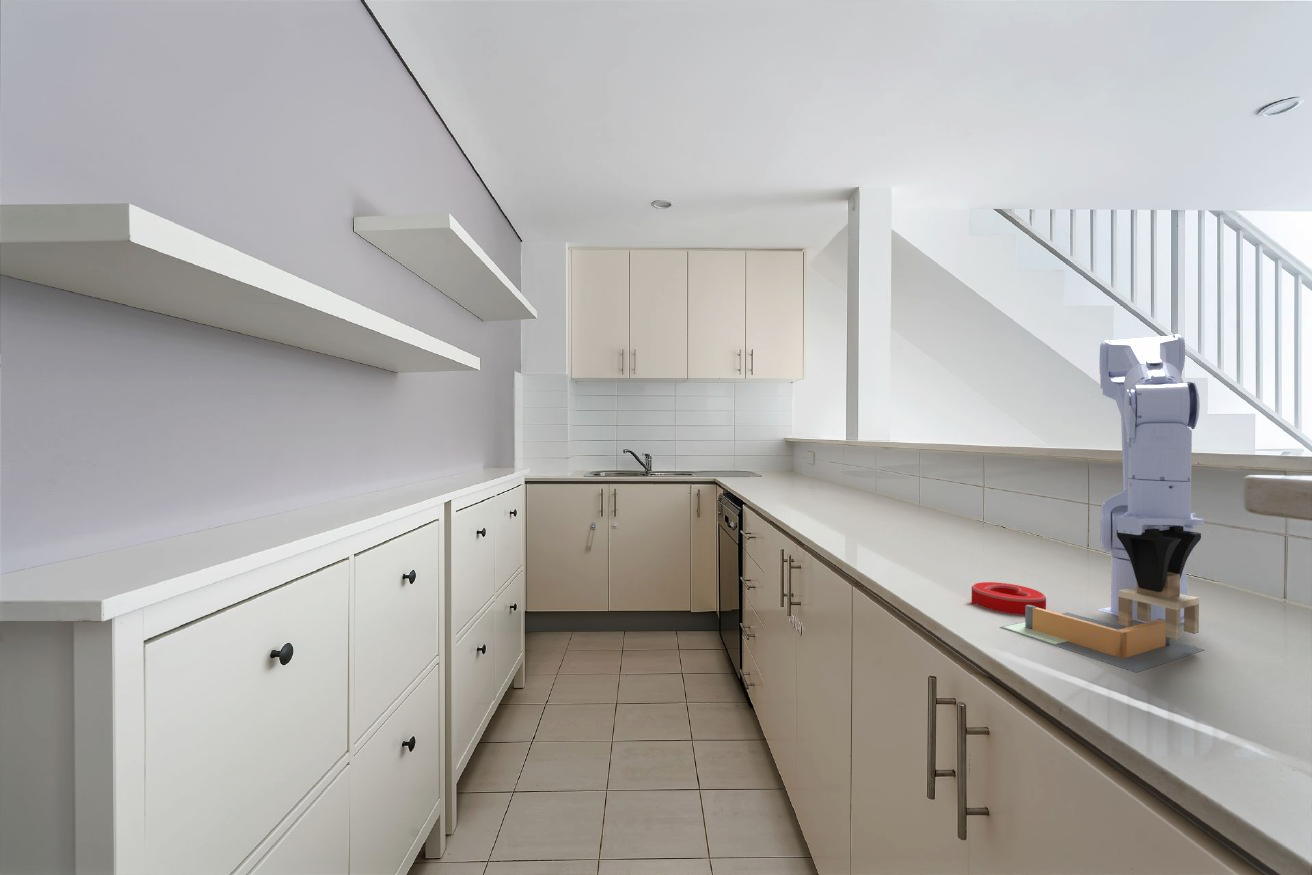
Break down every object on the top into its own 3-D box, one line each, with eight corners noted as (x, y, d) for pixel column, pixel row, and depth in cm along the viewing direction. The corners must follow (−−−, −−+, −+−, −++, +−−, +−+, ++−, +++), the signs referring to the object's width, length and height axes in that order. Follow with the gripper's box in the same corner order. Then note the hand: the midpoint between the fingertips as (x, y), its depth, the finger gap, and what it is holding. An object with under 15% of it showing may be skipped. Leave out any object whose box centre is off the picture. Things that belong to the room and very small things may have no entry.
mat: (1067, 616, 78) (1067, 612, 78) (1204, 654, 65) (1204, 649, 65) (999, 631, 72) (999, 627, 72) (1136, 677, 58) (1136, 672, 58)
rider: (1141, 618, 69) (1141, 565, 69) (1198, 632, 64) (1199, 575, 64) (1118, 624, 67) (1118, 569, 67) (1176, 639, 62) (1176, 580, 62)
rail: (1070, 616, 76) (1071, 596, 76) (1171, 644, 66) (1171, 621, 66) (1023, 627, 72) (1023, 605, 72) (1124, 659, 61) (1124, 633, 61)
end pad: (1031, 621, 74) (1031, 620, 74) (1084, 637, 68) (1084, 636, 68) (1003, 627, 72) (1003, 626, 72) (1055, 644, 66) (1055, 643, 66)
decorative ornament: (957, 602, 86) (957, 582, 86) (1007, 599, 88) (1007, 580, 88) (1007, 622, 76) (1007, 600, 76) (1062, 618, 78) (1062, 597, 78)
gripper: (1171, 483, 59) (1170, 604, 59) (1229, 481, 65) (1228, 590, 65) (1097, 479, 66) (1096, 587, 66) (1156, 476, 72) (1155, 576, 72)
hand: (1157, 588), depth 66 cm, fingers closed on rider, 3 cm apart
